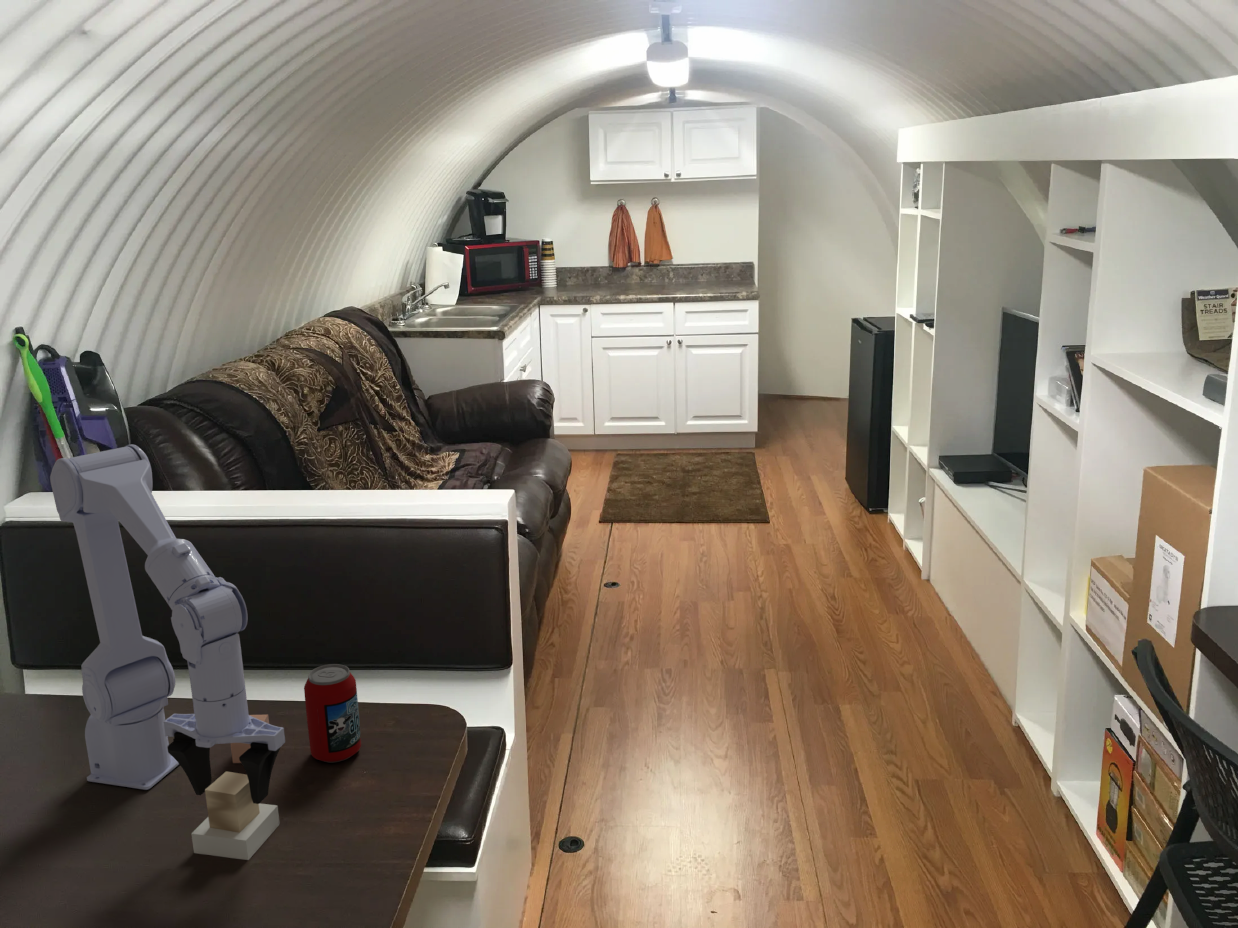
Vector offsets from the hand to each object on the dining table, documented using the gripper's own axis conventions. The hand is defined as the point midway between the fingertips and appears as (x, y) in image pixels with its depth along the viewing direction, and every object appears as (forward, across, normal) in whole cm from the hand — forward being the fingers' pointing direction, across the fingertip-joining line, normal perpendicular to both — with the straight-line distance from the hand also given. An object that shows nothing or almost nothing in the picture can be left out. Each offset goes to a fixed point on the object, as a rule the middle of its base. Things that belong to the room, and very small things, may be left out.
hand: (231, 794), depth 122 cm
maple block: (+3, 0, 0) cm, 3 cm away
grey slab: (+6, 0, 0) cm, 6 cm away
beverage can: (+6, +2, +20) cm, 21 cm away
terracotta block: (+6, -9, +17) cm, 20 cm away
